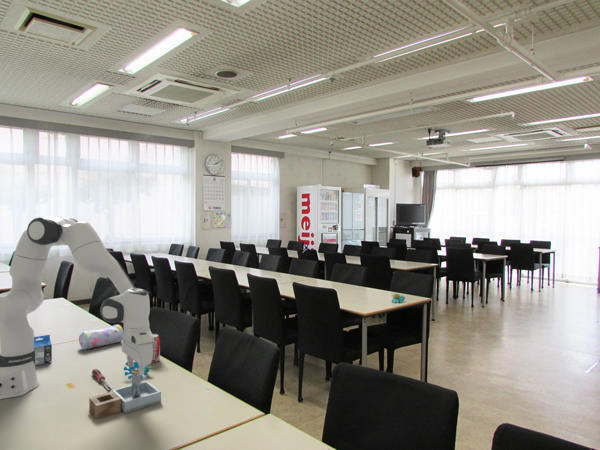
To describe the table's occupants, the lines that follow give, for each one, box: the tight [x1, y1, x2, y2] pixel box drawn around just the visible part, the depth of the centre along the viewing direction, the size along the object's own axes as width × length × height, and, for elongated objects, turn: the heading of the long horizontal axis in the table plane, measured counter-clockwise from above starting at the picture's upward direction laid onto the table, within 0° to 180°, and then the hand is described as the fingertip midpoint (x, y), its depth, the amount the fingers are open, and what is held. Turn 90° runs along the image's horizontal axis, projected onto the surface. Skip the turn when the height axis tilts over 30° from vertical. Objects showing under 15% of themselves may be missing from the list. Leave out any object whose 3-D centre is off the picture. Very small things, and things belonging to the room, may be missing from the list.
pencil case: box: [78, 323, 124, 351], centre depth 214 cm, size 21×9×10 cm, turn 141°
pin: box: [131, 368, 142, 399], centre depth 151 cm, size 3×3×11 cm
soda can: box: [151, 333, 161, 364], centre depth 193 cm, size 7×7×12 cm
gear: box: [123, 361, 152, 380], centre depth 175 cm, size 11×6×10 cm
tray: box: [111, 380, 162, 414], centre depth 151 cm, size 13×13×4 cm
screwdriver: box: [91, 368, 113, 392], centre depth 167 cm, size 25×3×3 cm, turn 41°
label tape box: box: [34, 334, 53, 367], centre depth 187 cm, size 9×4×12 cm, turn 131°
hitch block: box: [88, 391, 122, 420], centre depth 144 cm, size 8×8×4 cm
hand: (135, 370), depth 151 cm, fingers open, 8 cm apart
